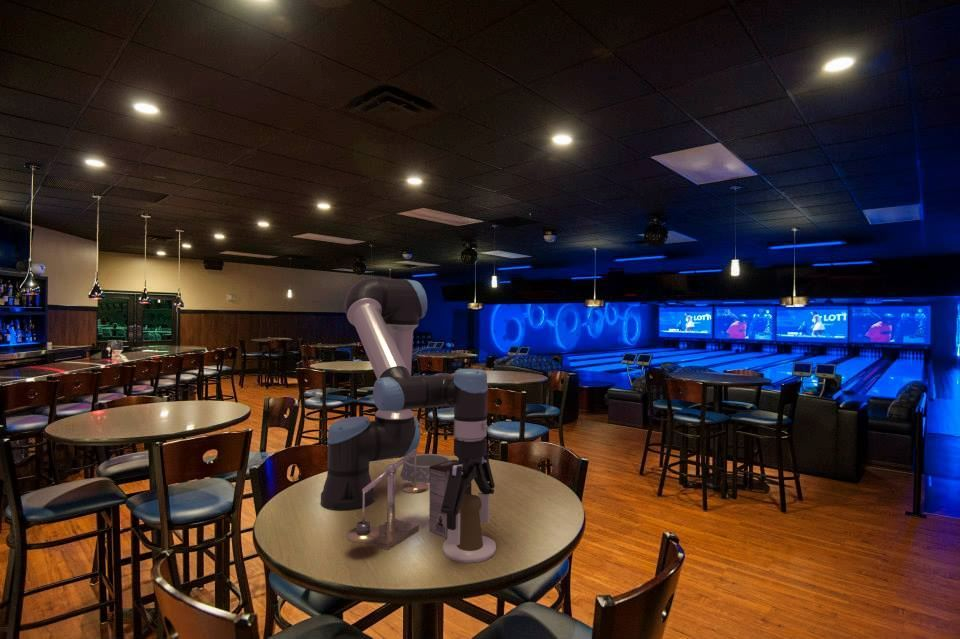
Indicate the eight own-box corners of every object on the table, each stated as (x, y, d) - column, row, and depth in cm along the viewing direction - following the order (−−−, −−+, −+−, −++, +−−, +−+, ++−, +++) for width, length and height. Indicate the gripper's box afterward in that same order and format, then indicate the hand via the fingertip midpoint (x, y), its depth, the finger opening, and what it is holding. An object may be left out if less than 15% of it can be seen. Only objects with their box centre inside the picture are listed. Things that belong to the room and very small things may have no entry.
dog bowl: (463, 472, 172) (463, 457, 172) (431, 487, 156) (431, 470, 156) (423, 465, 181) (424, 450, 181) (390, 478, 165) (390, 462, 165)
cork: (462, 537, 116) (462, 490, 116) (486, 541, 114) (487, 493, 114) (452, 548, 110) (452, 498, 110) (477, 552, 108) (478, 502, 108)
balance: (338, 554, 109) (339, 468, 109) (410, 515, 132) (411, 443, 132) (366, 563, 105) (367, 473, 105) (435, 521, 128) (436, 447, 129)
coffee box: (453, 520, 129) (454, 458, 129) (472, 526, 125) (472, 463, 125) (428, 531, 122) (428, 465, 122) (446, 538, 118) (447, 470, 118)
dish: (432, 554, 109) (432, 549, 109) (460, 535, 120) (460, 530, 120) (479, 567, 104) (479, 562, 104) (504, 545, 114) (504, 540, 114)
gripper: (455, 451, 99) (454, 558, 99) (508, 429, 121) (508, 516, 121) (425, 447, 103) (423, 549, 103) (481, 426, 125) (481, 510, 124)
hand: (469, 532), depth 112 cm, fingers open, 13 cm apart
